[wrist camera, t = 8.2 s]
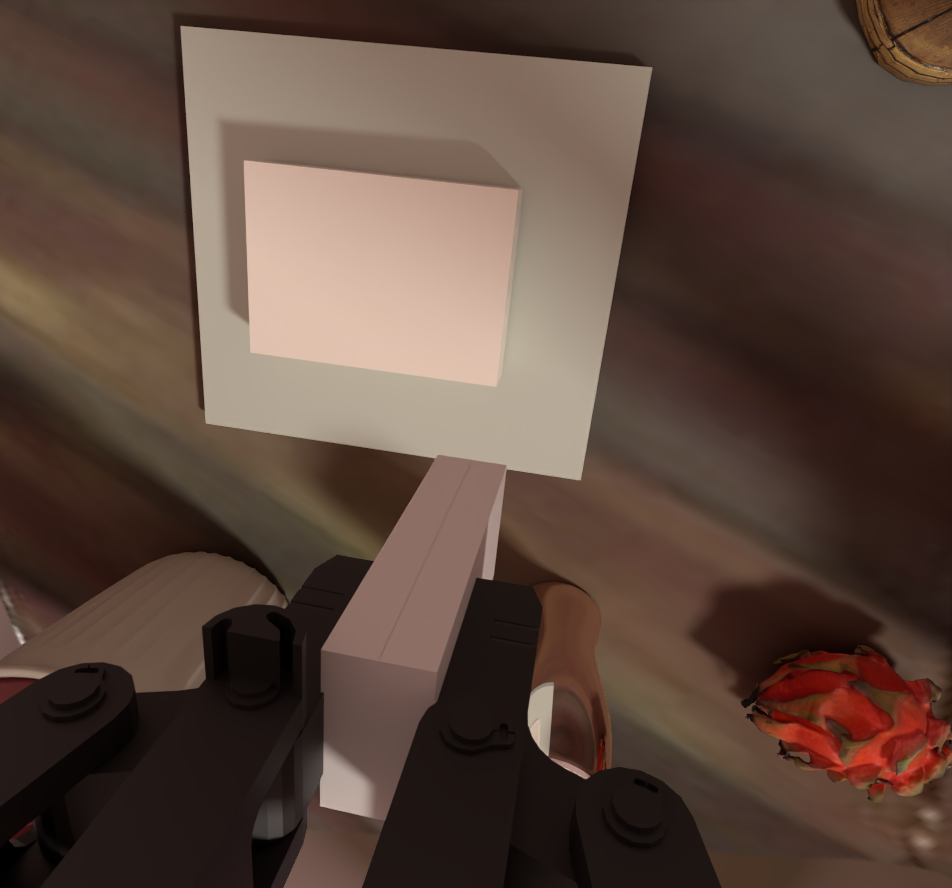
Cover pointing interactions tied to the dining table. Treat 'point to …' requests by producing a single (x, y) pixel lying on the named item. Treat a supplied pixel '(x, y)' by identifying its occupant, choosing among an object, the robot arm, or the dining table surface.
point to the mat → (433, 157)
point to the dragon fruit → (854, 720)
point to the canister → (144, 625)
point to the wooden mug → (910, 38)
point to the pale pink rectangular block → (380, 270)
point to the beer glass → (569, 683)
